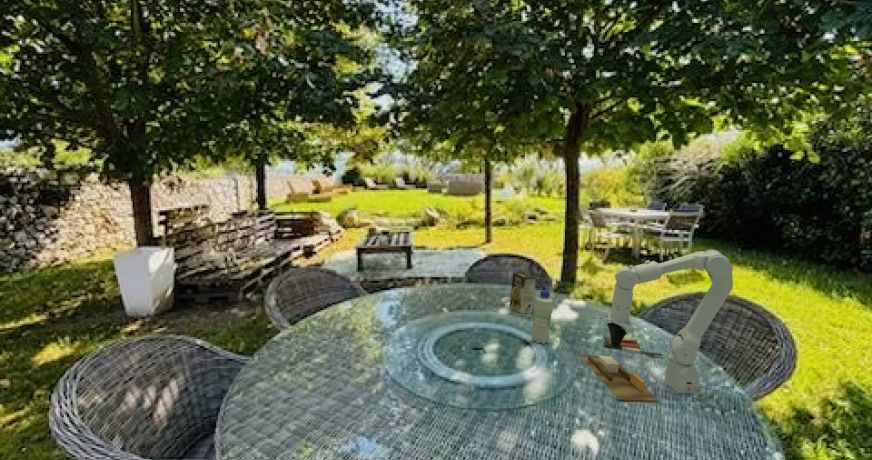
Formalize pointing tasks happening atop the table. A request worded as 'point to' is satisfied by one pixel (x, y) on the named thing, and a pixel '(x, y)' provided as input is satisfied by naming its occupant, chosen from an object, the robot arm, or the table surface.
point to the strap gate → (637, 381)
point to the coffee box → (522, 292)
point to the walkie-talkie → (628, 346)
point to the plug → (609, 364)
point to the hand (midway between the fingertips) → (615, 346)
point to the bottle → (542, 318)
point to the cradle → (618, 382)
